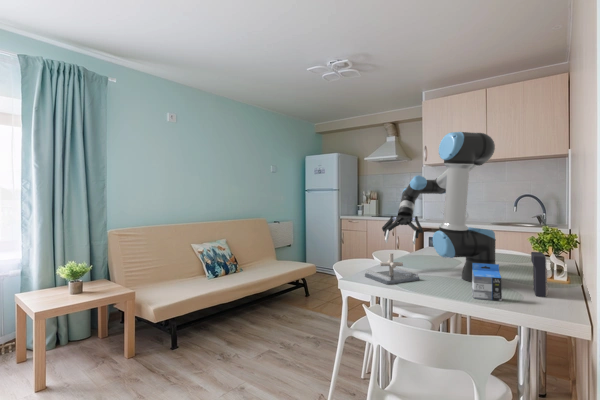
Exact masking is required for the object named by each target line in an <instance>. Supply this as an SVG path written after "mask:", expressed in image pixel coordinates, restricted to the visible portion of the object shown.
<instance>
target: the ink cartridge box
mask: <svg viewBox="0 0 600 400" xmlns="http://www.w3.org/2000/svg"><path fill="white" fill-rule="evenodd" d="M485 266H487V267H490V269H485V268H481V267H485ZM472 267H473V269H472V282H471V295H472V297H473V299H475V300H476V299H477V300H486V301H487V300H488V301H489V300H490V301H500V302H502V300H503V299H502V297H503V292H502V290H503V289H502V288H503V287H502V284H503V281H502V280H503V279H502V275H501V273H500V264H499V263H498V264H497V263H496V264H481V263H472Z"/></svg>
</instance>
